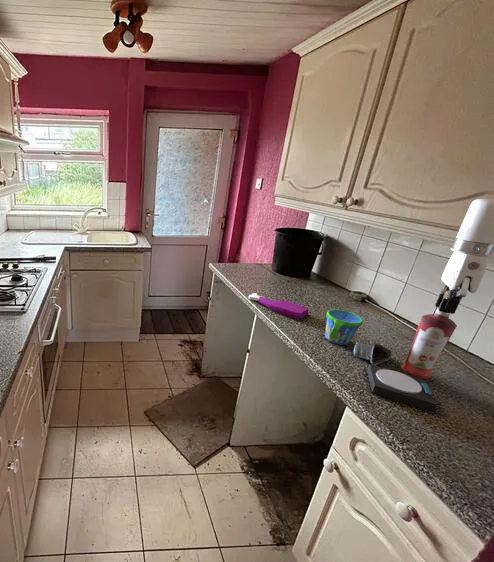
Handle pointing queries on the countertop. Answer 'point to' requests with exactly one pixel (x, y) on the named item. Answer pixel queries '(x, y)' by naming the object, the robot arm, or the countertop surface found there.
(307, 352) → the countertop surface
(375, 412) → the countertop surface
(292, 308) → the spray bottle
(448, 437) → the countertop surface
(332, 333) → the snack cup
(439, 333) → the liquor
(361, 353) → the grey open container
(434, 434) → the countertop surface
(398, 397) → the scale
